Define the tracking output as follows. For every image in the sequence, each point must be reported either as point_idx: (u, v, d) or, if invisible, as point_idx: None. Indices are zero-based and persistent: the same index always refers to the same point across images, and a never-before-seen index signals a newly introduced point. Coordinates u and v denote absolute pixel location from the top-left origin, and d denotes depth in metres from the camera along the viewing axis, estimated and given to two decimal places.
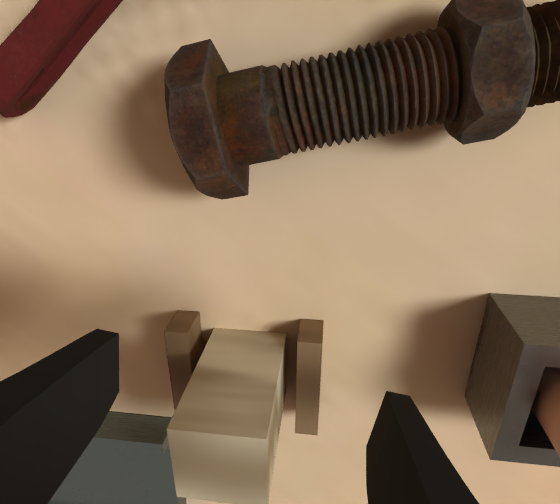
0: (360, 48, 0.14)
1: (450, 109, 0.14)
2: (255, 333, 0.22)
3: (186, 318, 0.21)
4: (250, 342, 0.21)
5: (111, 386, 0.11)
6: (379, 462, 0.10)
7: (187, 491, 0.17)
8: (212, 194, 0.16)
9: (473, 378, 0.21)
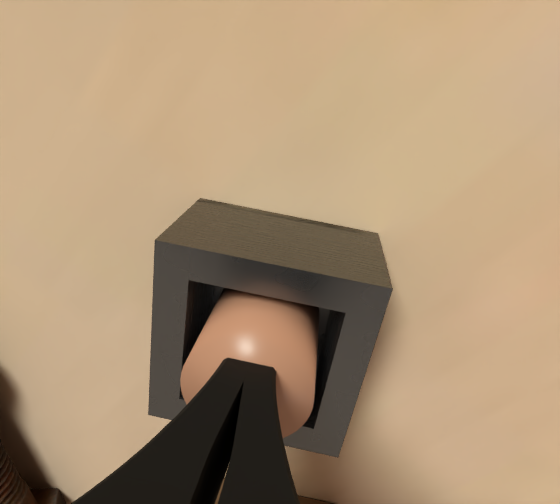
0: None
1: None
2: None
3: None
4: None
5: None
6: (235, 430, 0.10)
7: None
8: None
9: None
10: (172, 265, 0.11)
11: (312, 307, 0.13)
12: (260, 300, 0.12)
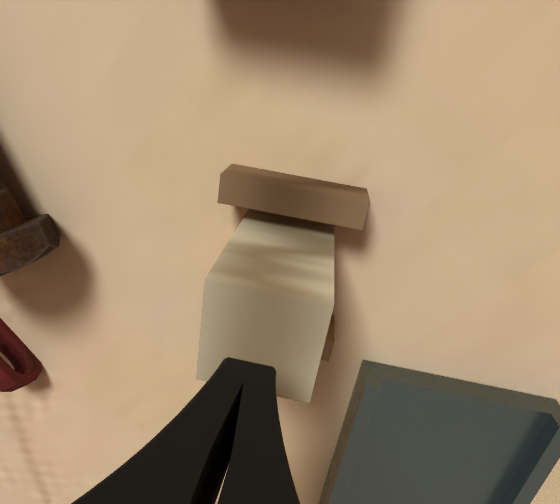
0: None
1: None
2: None
3: None
4: None
5: None
6: (235, 430, 0.10)
7: (299, 389, 0.14)
8: (28, 256, 0.17)
9: None
10: None
11: None
12: None
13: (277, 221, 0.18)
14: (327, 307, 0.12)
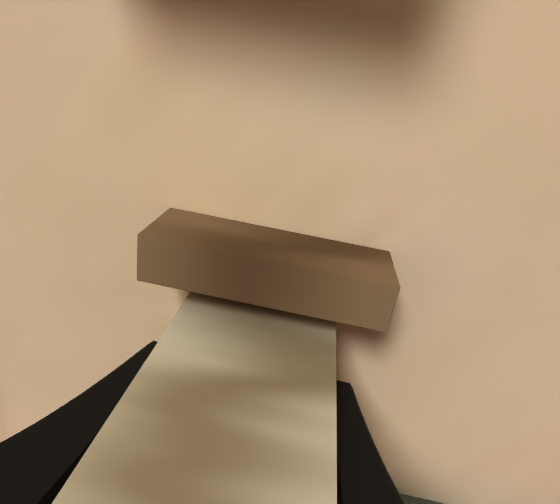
0: None
1: None
2: None
3: None
4: None
5: None
6: None
7: None
8: None
9: None
10: None
11: None
12: None
13: (243, 303, 0.11)
14: None
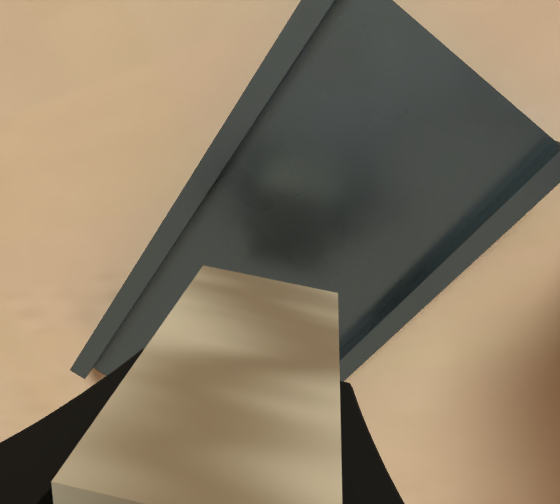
0: None
1: None
2: None
3: None
4: None
5: None
6: None
7: None
8: None
9: None
10: None
11: None
12: None
13: (245, 289, 0.11)
14: None
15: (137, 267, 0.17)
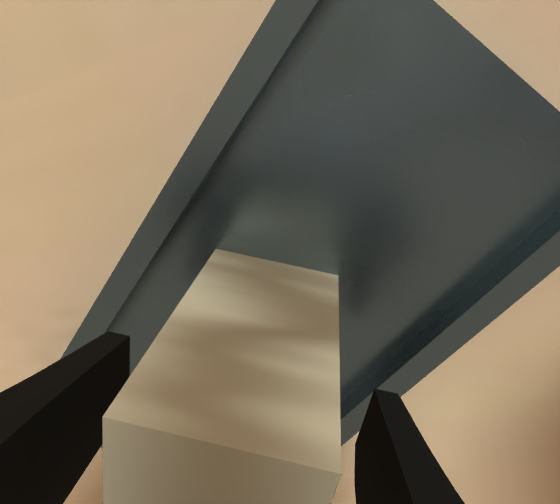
0: None
1: None
2: None
3: None
4: None
5: None
6: (365, 459, 0.10)
7: None
8: None
9: None
10: None
11: None
12: None
13: (255, 270, 0.12)
14: (328, 477, 0.07)
15: (94, 309, 0.14)
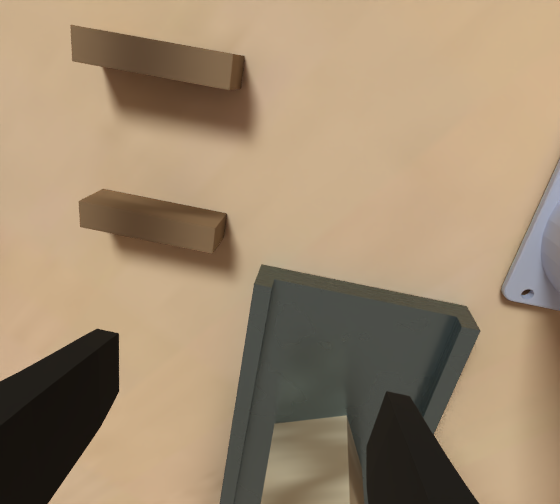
0: None
1: None
2: None
3: None
4: None
5: (111, 386, 0.11)
6: (378, 462, 0.10)
7: None
8: None
9: None
10: None
11: None
12: None
13: (298, 434, 0.21)
14: None
15: (225, 478, 0.23)
